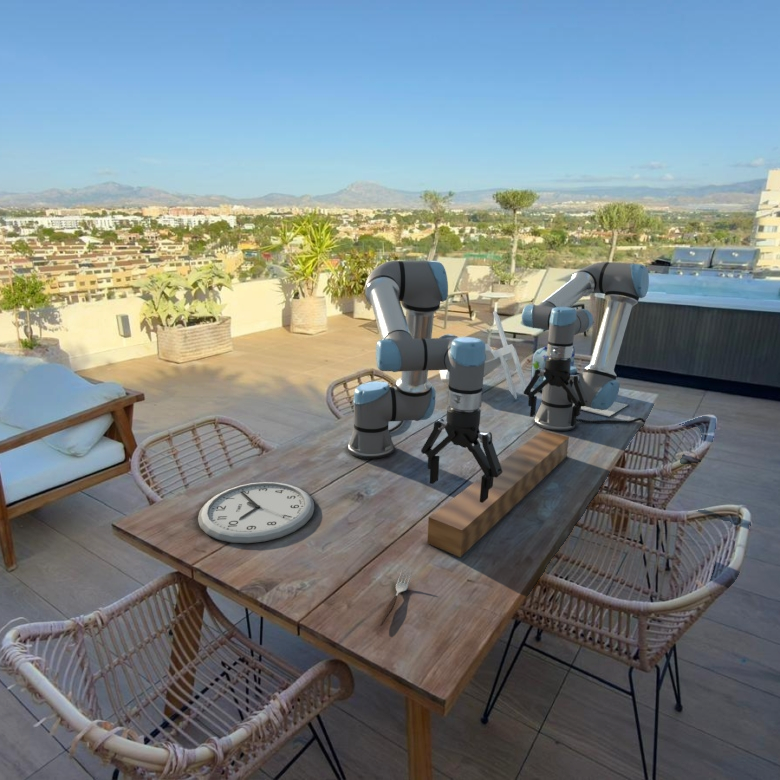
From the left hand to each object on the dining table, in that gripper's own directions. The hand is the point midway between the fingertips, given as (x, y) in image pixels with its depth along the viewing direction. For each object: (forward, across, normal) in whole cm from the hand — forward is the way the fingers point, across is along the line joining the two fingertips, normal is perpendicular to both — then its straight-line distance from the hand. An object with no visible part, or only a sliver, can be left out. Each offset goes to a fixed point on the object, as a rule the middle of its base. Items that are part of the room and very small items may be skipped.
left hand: (458, 490), depth 124 cm
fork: (+13, +2, -27) cm, 30 cm away
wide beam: (+14, 0, +30) cm, 33 cm away
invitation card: (+16, -1, +127) cm, 128 cm away
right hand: (+1, 0, +61) cm, 61 cm away
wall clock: (+14, -48, -22) cm, 54 cm away
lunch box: (+16, -28, +140) cm, 144 cm away
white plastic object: (+16, -51, +112) cm, 124 cm away
